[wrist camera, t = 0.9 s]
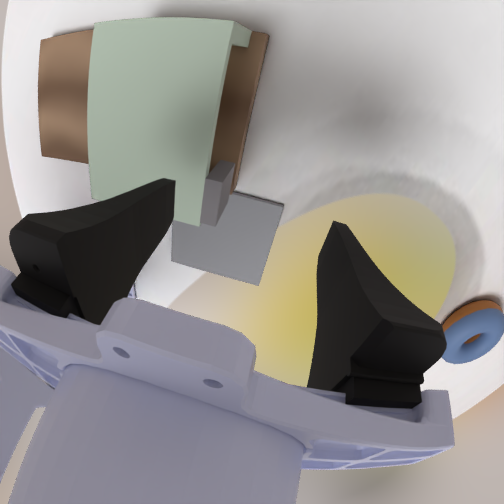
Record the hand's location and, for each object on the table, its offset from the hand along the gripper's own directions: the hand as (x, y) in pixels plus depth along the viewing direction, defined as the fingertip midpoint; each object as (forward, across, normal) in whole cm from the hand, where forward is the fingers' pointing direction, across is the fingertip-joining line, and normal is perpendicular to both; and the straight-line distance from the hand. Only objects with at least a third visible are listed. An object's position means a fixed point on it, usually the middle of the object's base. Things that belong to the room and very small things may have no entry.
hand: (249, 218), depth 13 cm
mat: (+10, +3, +9) cm, 13 cm away
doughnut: (+10, -29, +12) cm, 33 cm away
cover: (+8, +7, -2) cm, 11 cm away
